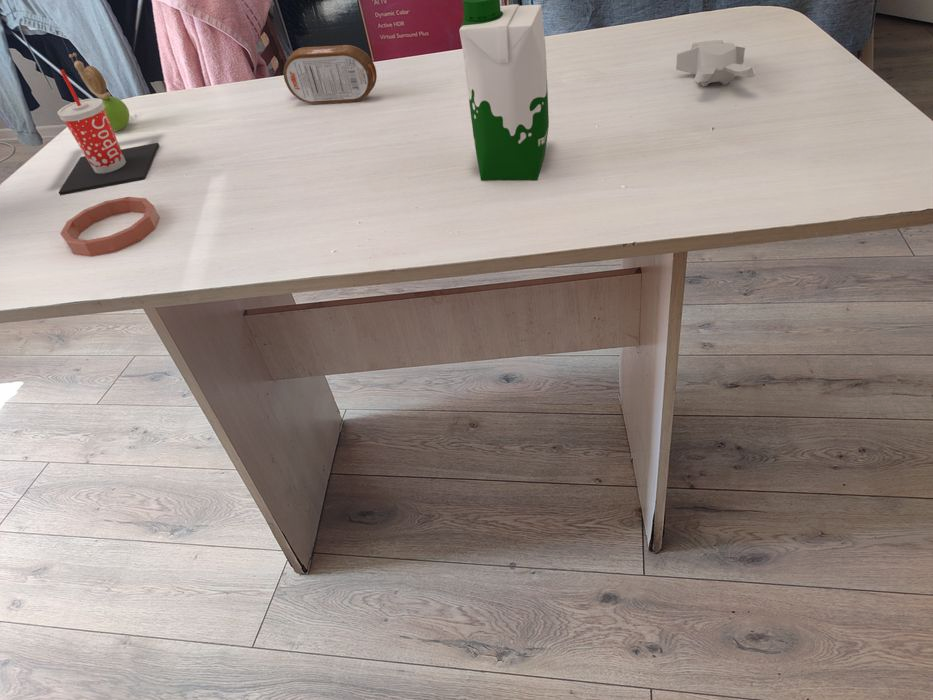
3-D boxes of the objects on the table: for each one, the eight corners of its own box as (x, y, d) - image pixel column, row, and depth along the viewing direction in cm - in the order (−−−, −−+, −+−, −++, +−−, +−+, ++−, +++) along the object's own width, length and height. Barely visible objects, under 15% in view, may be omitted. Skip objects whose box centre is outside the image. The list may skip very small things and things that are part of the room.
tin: (381, 95, 110) (370, 41, 105) (376, 102, 108) (365, 48, 102) (296, 99, 113) (281, 47, 108) (289, 107, 111) (274, 54, 106)
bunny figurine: (737, 31, 101) (765, 52, 89) (734, 67, 104) (760, 93, 91) (672, 38, 102) (690, 59, 90) (670, 73, 105) (687, 99, 93)
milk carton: (486, 152, 90) (468, -14, 76) (554, 151, 87) (547, -20, 74) (472, 184, 83) (449, 10, 70) (545, 184, 81) (536, 4, 68)
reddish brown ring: (63, 271, 79) (50, 250, 77) (86, 227, 87) (74, 206, 85) (153, 254, 80) (142, 232, 78) (168, 211, 88) (158, 190, 86)
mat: (60, 195, 96) (58, 192, 95) (82, 159, 105) (80, 156, 104) (144, 179, 96) (143, 176, 96) (159, 145, 105) (158, 142, 105)
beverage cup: (99, 179, 97) (48, 81, 88) (82, 169, 100) (30, 74, 91) (138, 162, 100) (92, 65, 91) (120, 153, 104) (74, 59, 94)
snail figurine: (120, 120, 116) (86, 47, 109) (141, 125, 113) (108, 50, 105) (92, 132, 113) (55, 59, 106) (113, 138, 110) (76, 63, 102)
